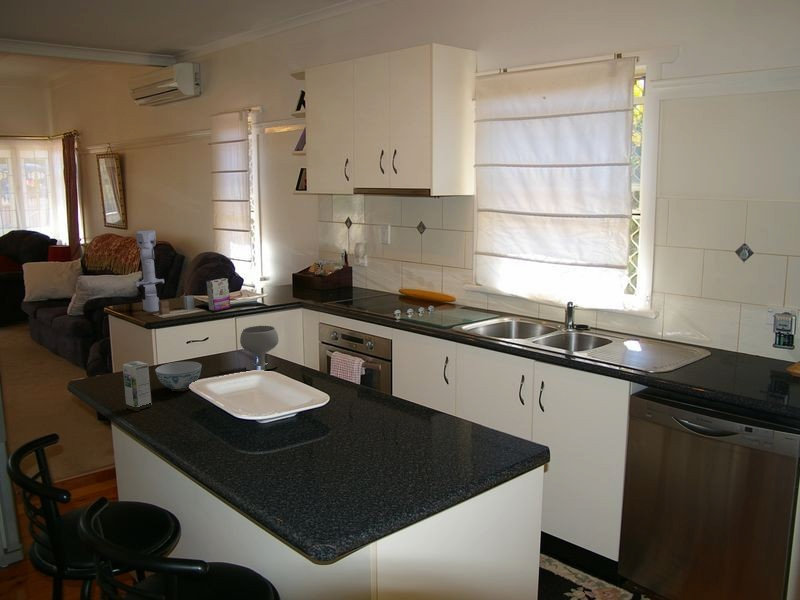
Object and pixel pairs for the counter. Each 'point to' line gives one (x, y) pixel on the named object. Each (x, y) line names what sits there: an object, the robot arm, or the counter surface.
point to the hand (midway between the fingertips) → (151, 298)
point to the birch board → (180, 312)
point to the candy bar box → (218, 294)
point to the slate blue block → (189, 302)
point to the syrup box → (136, 384)
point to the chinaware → (178, 374)
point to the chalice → (259, 341)
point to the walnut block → (163, 308)
